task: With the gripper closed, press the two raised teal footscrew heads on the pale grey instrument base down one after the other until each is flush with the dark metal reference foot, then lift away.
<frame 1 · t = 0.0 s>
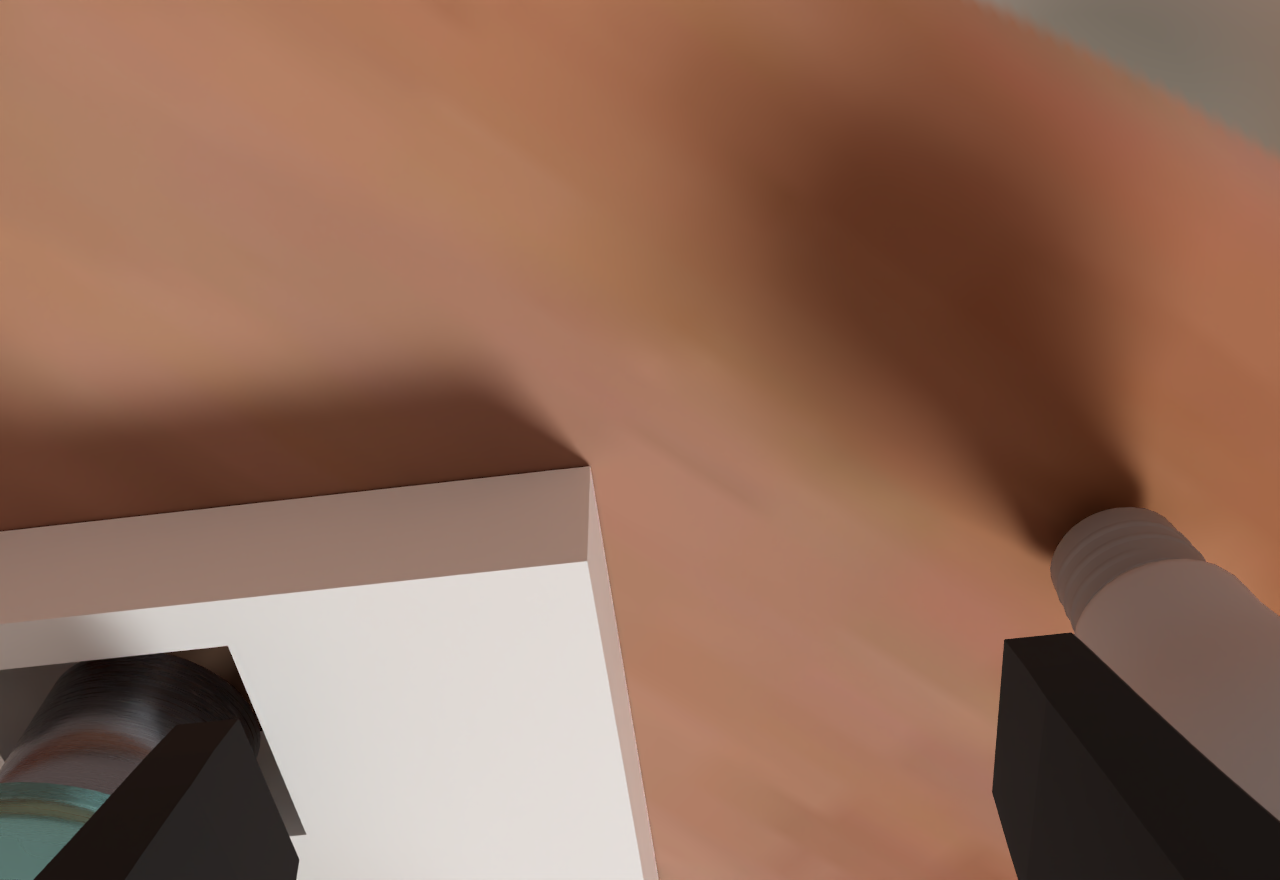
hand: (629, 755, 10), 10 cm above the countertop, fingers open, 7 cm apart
lightbulb: (1094, 529, 22), on the countertop
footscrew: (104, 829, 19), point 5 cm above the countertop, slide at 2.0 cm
instrument base: (269, 823, 25), on the countertop
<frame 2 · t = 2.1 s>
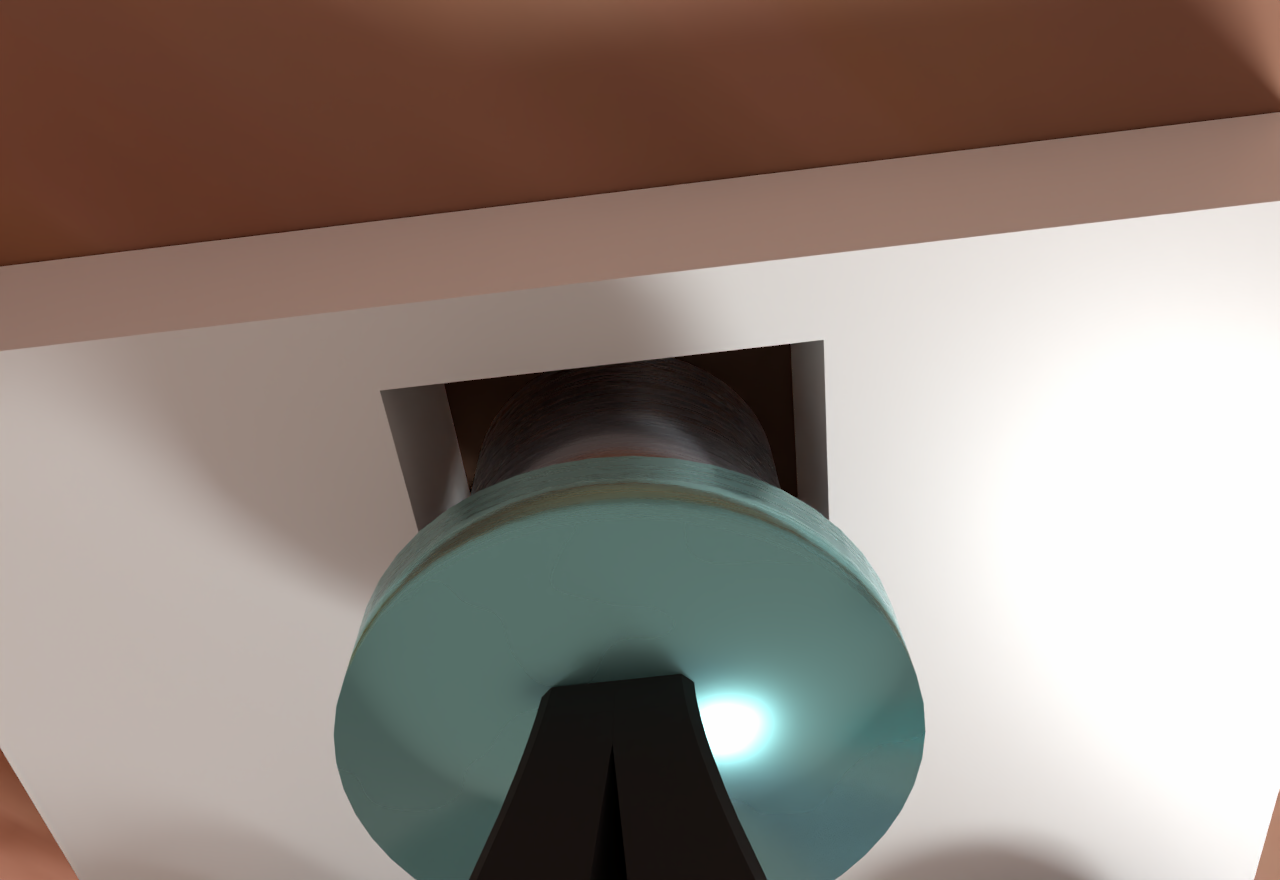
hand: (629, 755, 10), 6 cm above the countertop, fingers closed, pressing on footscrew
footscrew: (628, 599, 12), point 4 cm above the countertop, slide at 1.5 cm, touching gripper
instrument base: (663, 696, 18), on the countertop
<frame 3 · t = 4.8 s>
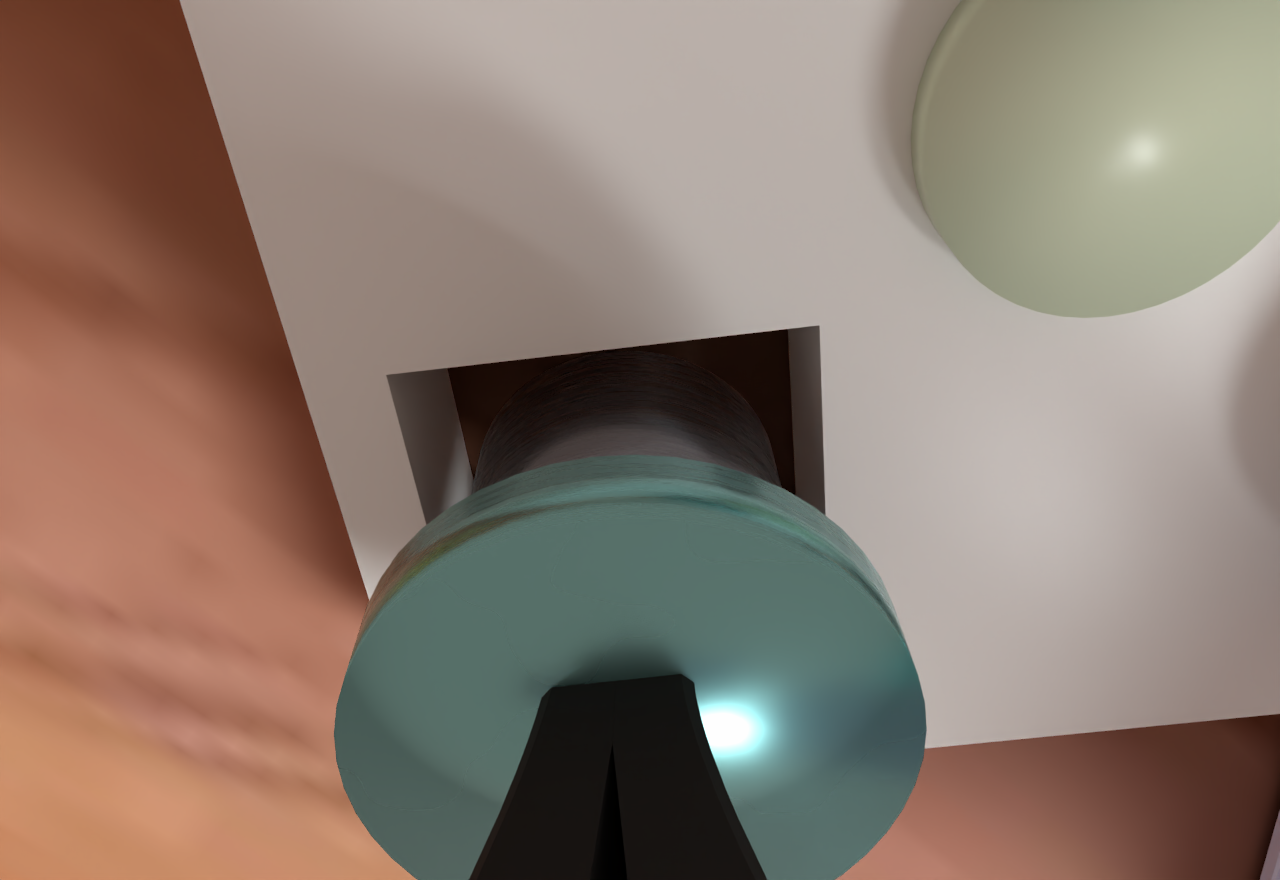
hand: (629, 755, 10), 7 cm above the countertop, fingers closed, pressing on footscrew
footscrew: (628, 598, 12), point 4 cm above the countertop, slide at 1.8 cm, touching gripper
instrument base: (1011, 56, 13), on the countertop
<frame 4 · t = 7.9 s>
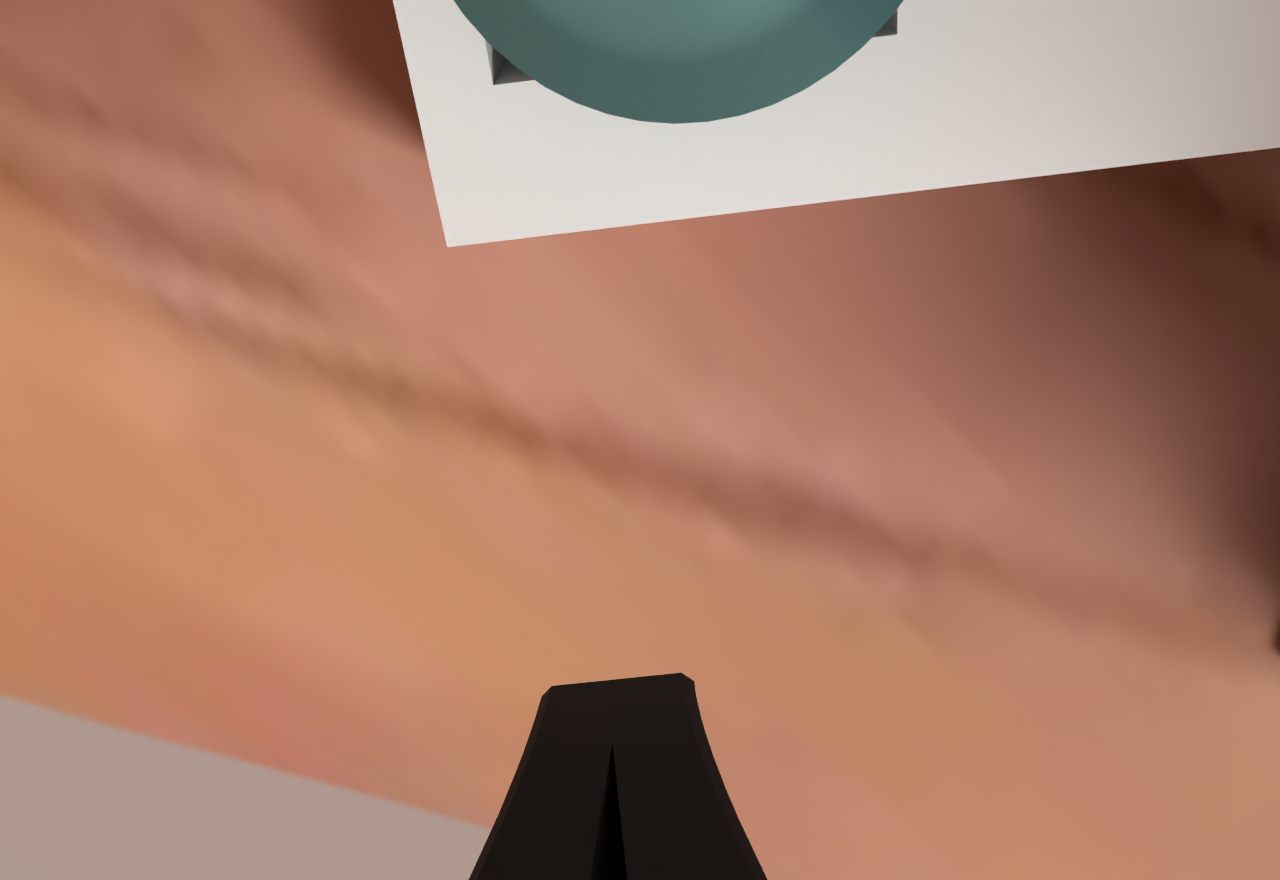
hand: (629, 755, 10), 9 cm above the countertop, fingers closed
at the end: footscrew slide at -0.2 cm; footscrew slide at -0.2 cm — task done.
